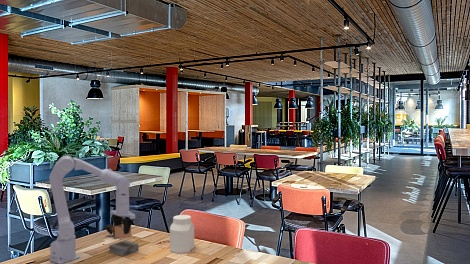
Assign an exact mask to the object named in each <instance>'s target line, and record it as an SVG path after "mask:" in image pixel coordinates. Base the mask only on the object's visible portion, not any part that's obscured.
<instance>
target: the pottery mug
mask: <svg viewBox="0 0 470 264" xmlns="http://www.w3.org/2000/svg"><path fill="white" fill-rule="evenodd" d="M122 224H123V222H122ZM105 230H106V232H108V233H109V234H110V236H112V235H114V236H113V238H114V239H115V240H117V239H118V238H117V237H115V225H114V224H107V225H106V226H105Z"/></svg>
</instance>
